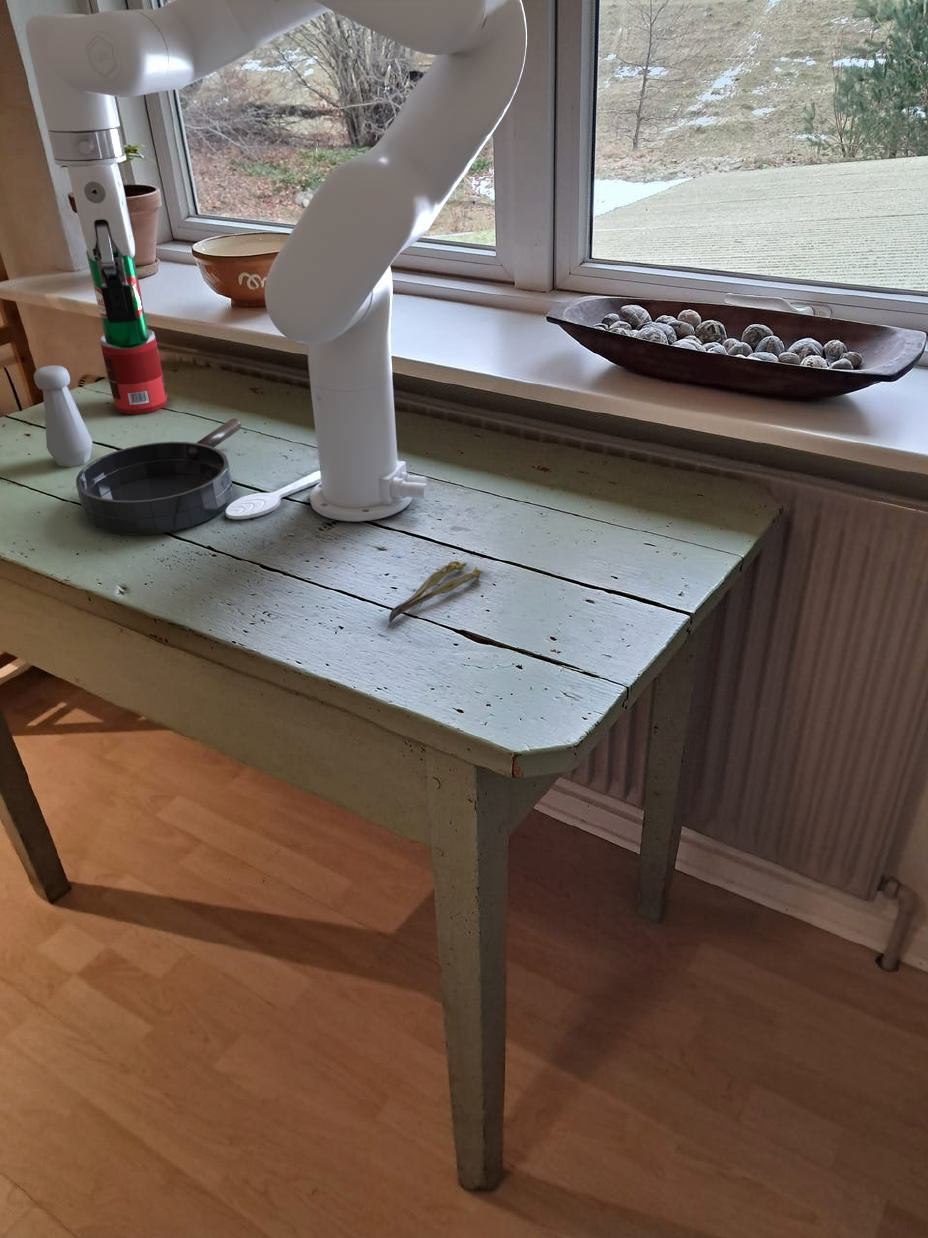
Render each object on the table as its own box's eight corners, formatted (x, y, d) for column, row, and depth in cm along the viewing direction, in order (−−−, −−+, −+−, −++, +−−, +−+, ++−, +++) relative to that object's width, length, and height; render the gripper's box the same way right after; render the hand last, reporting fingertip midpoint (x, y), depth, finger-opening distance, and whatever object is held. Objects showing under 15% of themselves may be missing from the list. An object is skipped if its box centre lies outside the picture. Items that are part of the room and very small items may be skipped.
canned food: (178, 402, 151) (165, 331, 145) (139, 418, 145) (123, 346, 139) (144, 394, 154) (130, 325, 148) (105, 409, 149) (88, 338, 143)
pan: (259, 482, 125) (254, 450, 122) (181, 546, 111) (174, 510, 108) (142, 466, 130) (135, 435, 128) (53, 525, 116) (43, 491, 113)
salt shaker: (103, 453, 134) (80, 361, 127) (85, 469, 130) (61, 375, 123) (63, 452, 135) (38, 360, 128) (44, 469, 130) (17, 375, 123)
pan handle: (244, 429, 134) (242, 417, 133) (197, 462, 125) (195, 449, 124) (232, 428, 135) (230, 415, 134) (186, 460, 126) (183, 447, 125)
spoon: (352, 474, 126) (352, 470, 126) (243, 524, 115) (242, 520, 114) (325, 464, 129) (324, 460, 129) (215, 511, 118) (214, 507, 117)
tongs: (380, 619, 96) (379, 602, 95) (455, 570, 106) (455, 554, 104) (413, 632, 94) (413, 614, 93) (487, 581, 103) (487, 564, 102)
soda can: (106, 340, 118) (83, 237, 112) (148, 335, 120) (128, 233, 113) (107, 352, 114) (83, 246, 108) (151, 347, 116) (130, 242, 109)
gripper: (123, 154, 99) (156, 331, 109) (124, 136, 113) (154, 294, 123) (46, 159, 97) (87, 338, 107) (56, 139, 111) (92, 300, 121)
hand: (122, 313), depth 115 cm, fingers closed on soda can, 5 cm apart
